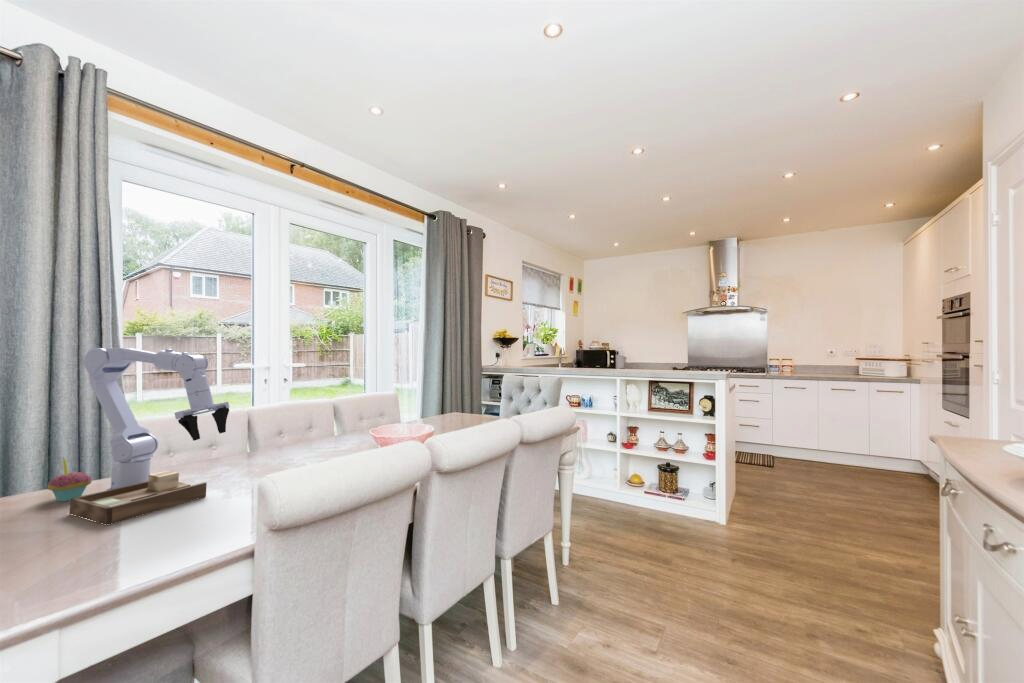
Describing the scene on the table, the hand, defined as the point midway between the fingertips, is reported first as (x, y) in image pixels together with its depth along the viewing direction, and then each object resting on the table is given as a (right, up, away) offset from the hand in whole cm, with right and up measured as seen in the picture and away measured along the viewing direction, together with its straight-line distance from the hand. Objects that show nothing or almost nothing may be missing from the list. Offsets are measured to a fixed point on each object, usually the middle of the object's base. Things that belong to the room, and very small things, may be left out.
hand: (210, 436), depth 127 cm
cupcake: (-33, -16, -10) cm, 38 cm away
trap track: (-9, -16, -12) cm, 22 cm away
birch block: (-10, -14, -5) cm, 18 cm away
